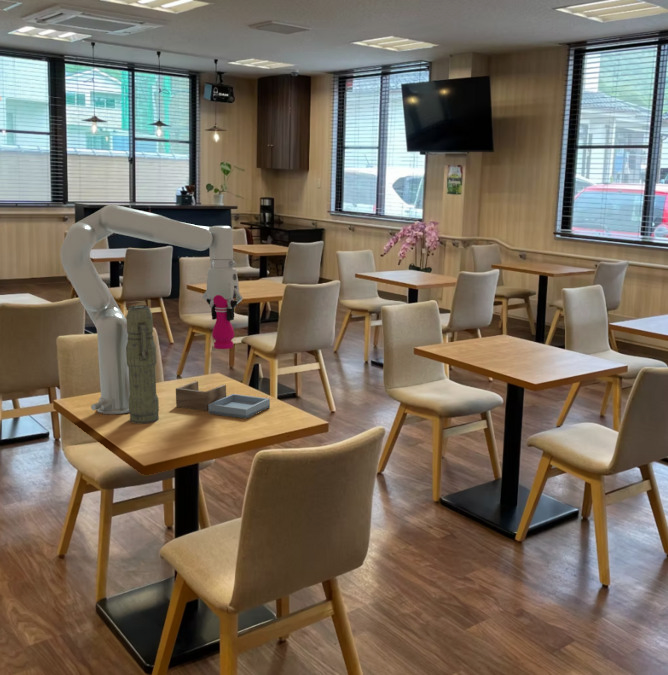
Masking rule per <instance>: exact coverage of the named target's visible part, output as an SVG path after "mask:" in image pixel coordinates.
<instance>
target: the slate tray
mask: <svg viewBox="0 0 668 675" xmlns="http://www.w3.org/2000/svg"><path fill="white" fill-rule="evenodd" d="M270 400H271V399H270V398H267V397H261V396H251V395H245V394H244V395H243V394H238V393H237V394H236V393H232V394H230V395H226V397H224V398H222V399H220V400H217V401H215V402H212V403H210V404H208V408H209V410H208V414H211V415H217V416H223V417H231V416H232V417H231V418H236V417H239V418H238V419H243V418H246V419H245V420H248V419H250V418H251V416H252V417H254V416H255V414H256V413H258V412H260V411H262V410H264V409H266V410H268V409H270V408H271V406H270V404H271V403H270V402H271V401H270ZM269 407H270V408H269ZM267 408H268V409H267ZM264 411H265V410H264ZM262 412H263V411H262ZM260 413H261V412H260ZM258 414H259V413H258ZM253 415H254V416H253ZM256 415H257V414H256ZM249 417H250V418H249ZM247 418H248V419H247Z"/></svg>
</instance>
